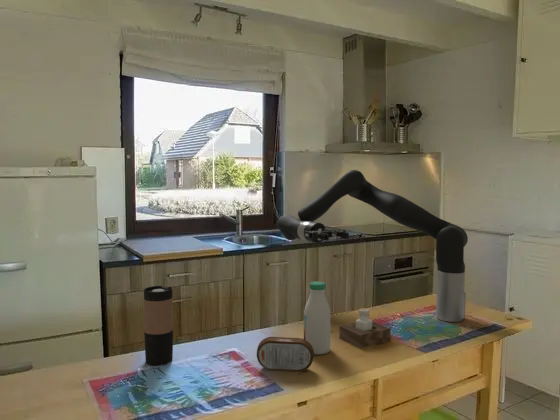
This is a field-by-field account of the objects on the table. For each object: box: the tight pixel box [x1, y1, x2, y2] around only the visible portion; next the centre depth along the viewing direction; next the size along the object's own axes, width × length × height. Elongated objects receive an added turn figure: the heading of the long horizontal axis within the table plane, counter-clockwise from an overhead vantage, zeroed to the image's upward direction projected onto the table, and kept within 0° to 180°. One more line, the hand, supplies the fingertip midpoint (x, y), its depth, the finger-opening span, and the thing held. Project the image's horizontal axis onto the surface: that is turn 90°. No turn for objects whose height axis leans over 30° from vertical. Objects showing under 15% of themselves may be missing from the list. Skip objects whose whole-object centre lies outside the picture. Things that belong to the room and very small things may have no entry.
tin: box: [256, 336, 315, 372], centre depth 123 cm, size 15×3×8 cm, turn 84°
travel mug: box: [143, 285, 174, 367], centre depth 128 cm, size 8×8×20 cm
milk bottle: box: [303, 280, 331, 356], centre depth 136 cm, size 8×8×20 cm
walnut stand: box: [338, 320, 392, 349], centre depth 145 cm, size 12×10×4 cm
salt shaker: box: [355, 308, 373, 331], centre depth 145 cm, size 4×4×10 cm
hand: (338, 236), depth 160 cm, fingers open, 8 cm apart
